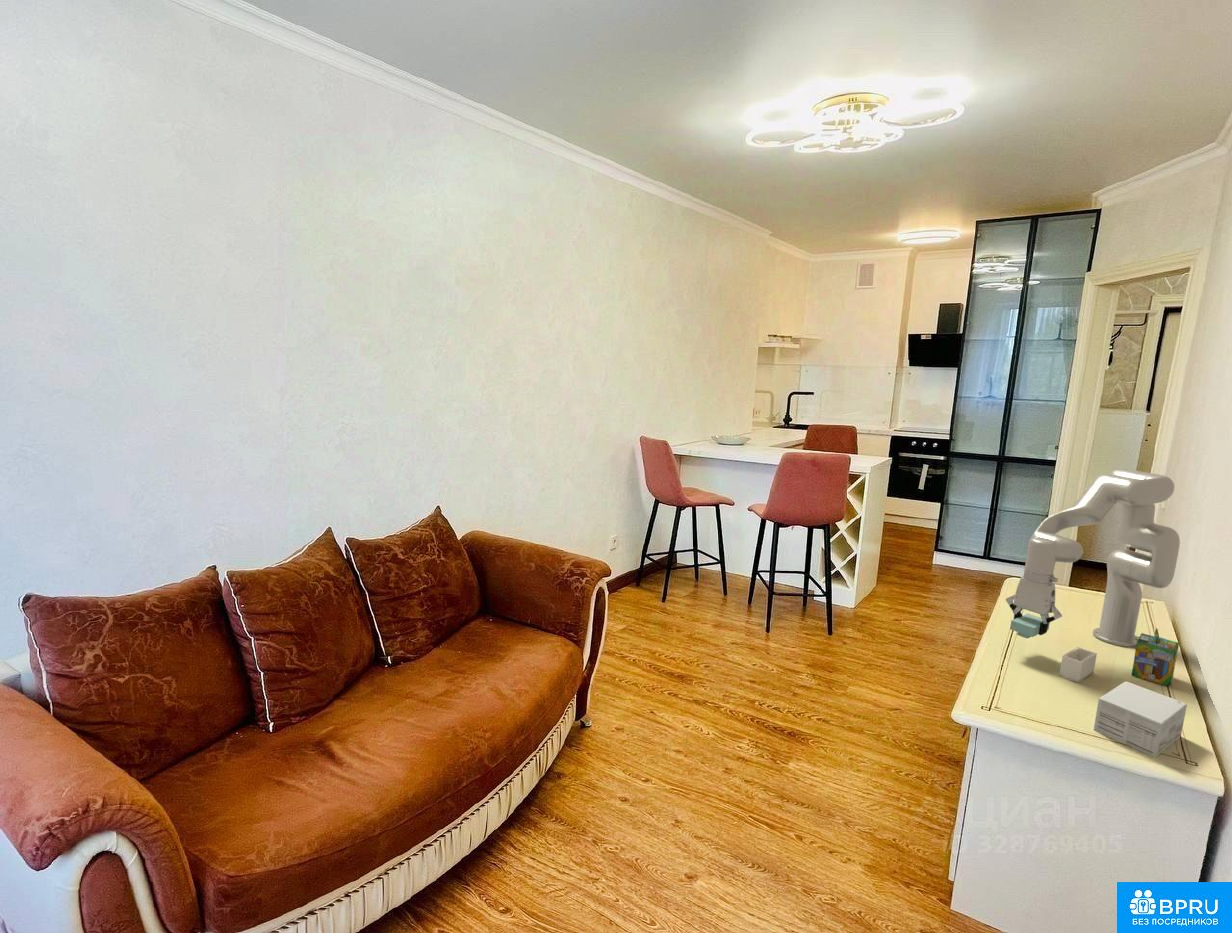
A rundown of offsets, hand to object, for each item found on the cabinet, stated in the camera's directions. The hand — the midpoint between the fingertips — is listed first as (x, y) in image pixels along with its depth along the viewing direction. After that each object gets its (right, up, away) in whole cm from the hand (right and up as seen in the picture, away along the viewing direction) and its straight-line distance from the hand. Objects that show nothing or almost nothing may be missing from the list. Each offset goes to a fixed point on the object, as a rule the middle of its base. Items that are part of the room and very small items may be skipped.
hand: (1029, 629), depth 197 cm
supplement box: (+1, -17, -39) cm, 42 cm away
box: (+8, -11, -10) cm, 17 cm away
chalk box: (+31, -12, -10) cm, 34 cm away
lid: (0, 0, 0) cm, 0 cm away
